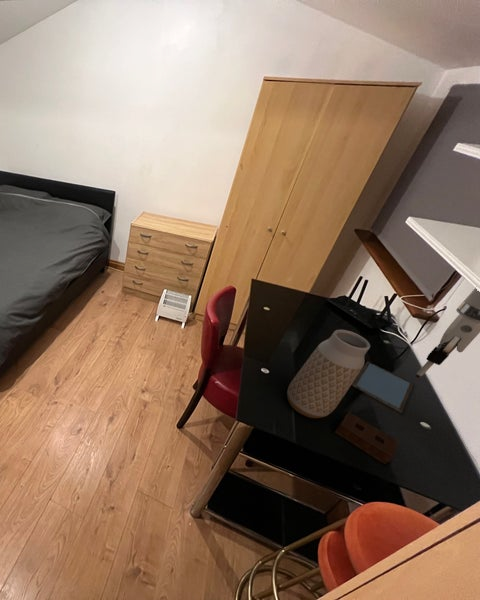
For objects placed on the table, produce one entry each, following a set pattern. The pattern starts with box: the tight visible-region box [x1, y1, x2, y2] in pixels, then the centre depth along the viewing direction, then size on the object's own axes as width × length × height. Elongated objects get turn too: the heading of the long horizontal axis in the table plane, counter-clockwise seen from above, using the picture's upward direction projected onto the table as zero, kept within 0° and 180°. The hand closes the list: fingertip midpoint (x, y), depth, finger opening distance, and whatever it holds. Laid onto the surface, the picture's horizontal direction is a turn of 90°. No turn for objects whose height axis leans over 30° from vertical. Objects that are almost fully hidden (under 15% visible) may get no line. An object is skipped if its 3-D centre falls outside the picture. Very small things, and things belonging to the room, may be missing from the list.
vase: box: [286, 329, 371, 419], centre depth 103 cm, size 14×14×31 cm
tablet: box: [351, 361, 414, 414], centre depth 123 cm, size 22×15×1 cm
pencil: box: [415, 346, 445, 379], centre depth 99 cm, size 1×1×13 cm
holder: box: [334, 411, 400, 465], centre depth 101 cm, size 13×8×4 cm, turn 40°
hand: (433, 360), depth 99 cm, fingers closed on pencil, 1 cm apart
